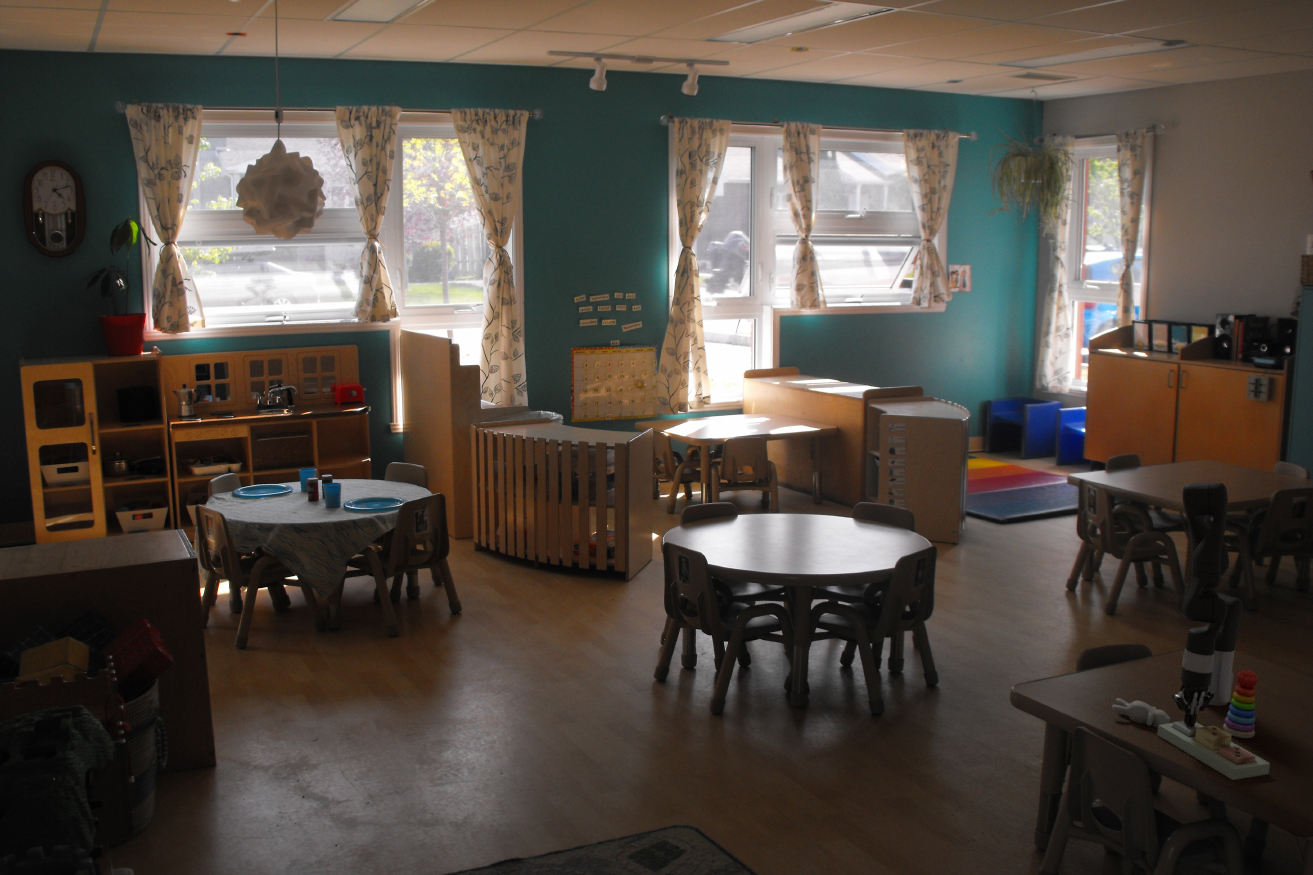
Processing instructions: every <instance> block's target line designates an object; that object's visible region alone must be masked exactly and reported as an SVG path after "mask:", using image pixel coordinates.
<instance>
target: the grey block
mask: <svg viewBox="0 0 1313 875" xmlns="http://www.w3.org/2000/svg"><path fill="white" fill-rule="evenodd" d="M1172 723H1173V727H1172V728H1173V729H1175V730H1177V731H1179V732H1180V733H1182V734H1184V735H1186V736H1187V737H1189V738H1190V737H1195V736H1196V728H1199V727H1202V726H1203V725H1202V726H1200V725H1201V724H1200V723H1198V722H1197V723H1198V724H1197V723H1195V726H1191V727H1189V726H1187V725H1186V724H1185V723H1184V720H1180V721H1174V722H1172ZM1199 724H1200V725H1199Z"/></svg>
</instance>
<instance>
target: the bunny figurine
mask: <svg viewBox="0 0 1313 875" xmlns="http://www.w3.org/2000/svg"><path fill="white" fill-rule="evenodd" d="M1114 702H1115V703H1117V704H1112V706H1111V710H1112V711H1113V712H1116V713H1127V715H1128V717H1129V719H1130V720H1131V721H1132V722H1134V723H1139V724H1146V726H1153V727H1155V728H1157V729H1158V725H1162V724H1169V723H1171V722H1170V721H1171V716H1169V715H1168V714H1167V713H1166V711H1164V710H1162V709H1158V708H1157V707H1156V706H1151V705H1150V704H1148V703H1146V702H1144V701H1141V700H1138V699H1137V700H1134V701H1132V702H1130V703H1129V702H1127V701H1125V700H1124V699H1122V698H1121V697H1117V698H1115V701H1114ZM1118 704H1119V705H1118Z"/></svg>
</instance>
